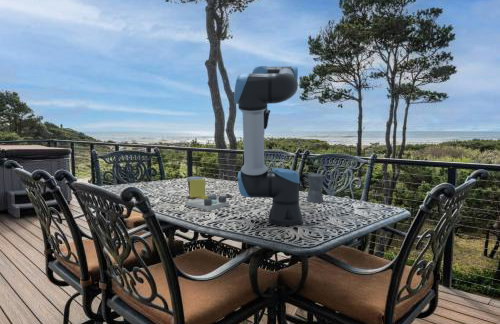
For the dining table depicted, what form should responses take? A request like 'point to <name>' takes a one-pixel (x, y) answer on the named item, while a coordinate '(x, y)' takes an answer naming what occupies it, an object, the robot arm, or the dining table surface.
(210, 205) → the base
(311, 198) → the coffeepot
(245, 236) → the dining table surface
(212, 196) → the yellow flat slab
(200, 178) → the disposable coffee cup
